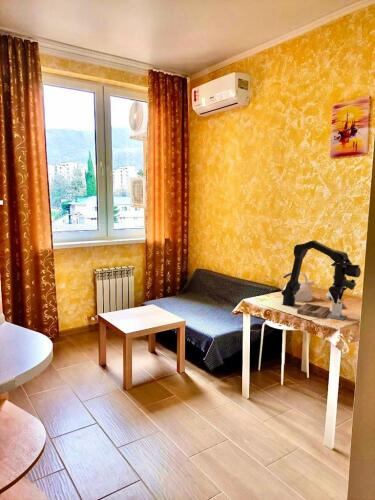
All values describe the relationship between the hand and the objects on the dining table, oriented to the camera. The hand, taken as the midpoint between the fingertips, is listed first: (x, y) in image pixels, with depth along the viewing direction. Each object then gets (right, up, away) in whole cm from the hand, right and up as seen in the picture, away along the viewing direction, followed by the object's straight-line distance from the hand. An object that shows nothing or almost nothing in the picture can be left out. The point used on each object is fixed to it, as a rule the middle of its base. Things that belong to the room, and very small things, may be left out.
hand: (337, 301), depth 202 cm
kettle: (-10, -4, +42) cm, 43 cm away
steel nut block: (0, -8, +1) cm, 8 cm away
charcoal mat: (0, -9, +1) cm, 9 cm away
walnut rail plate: (-11, -8, +9) cm, 16 cm away
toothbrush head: (+11, -6, +31) cm, 33 cm away
